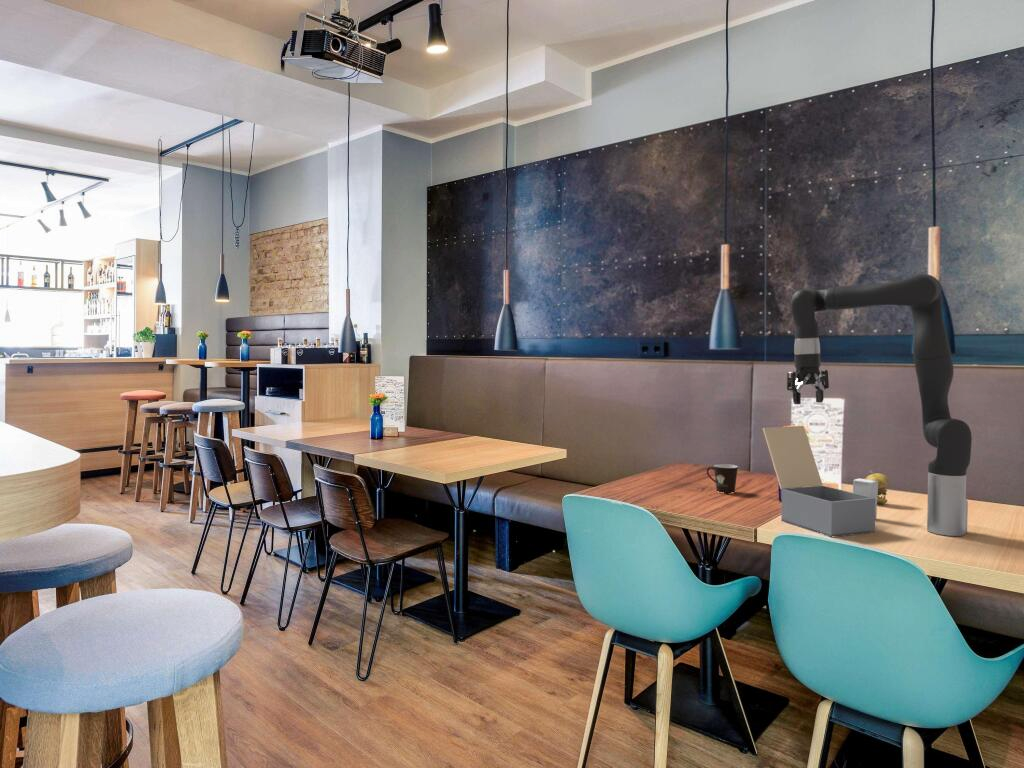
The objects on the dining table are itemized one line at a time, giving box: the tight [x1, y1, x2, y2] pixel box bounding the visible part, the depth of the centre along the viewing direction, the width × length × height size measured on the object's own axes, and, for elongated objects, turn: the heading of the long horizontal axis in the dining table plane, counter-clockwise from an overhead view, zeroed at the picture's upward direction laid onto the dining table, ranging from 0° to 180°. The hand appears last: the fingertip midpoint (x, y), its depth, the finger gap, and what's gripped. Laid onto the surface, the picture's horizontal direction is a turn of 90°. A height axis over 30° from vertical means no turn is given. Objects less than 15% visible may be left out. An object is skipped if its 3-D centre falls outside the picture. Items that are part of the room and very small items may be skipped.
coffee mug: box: [706, 463, 739, 493], centre depth 250 cm, size 12×9×10 cm
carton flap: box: [762, 425, 824, 490], centre depth 214 cm, size 16×20×6 cm
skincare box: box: [852, 478, 878, 520], centre depth 208 cm, size 6×4×12 cm
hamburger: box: [864, 470, 890, 505], centre depth 228 cm, size 8×7×12 cm
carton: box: [780, 485, 876, 538], centre depth 198 cm, size 16×20×10 cm
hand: (808, 403), depth 211 cm, fingers open, 8 cm apart
